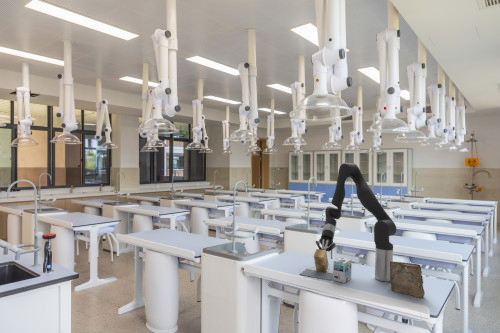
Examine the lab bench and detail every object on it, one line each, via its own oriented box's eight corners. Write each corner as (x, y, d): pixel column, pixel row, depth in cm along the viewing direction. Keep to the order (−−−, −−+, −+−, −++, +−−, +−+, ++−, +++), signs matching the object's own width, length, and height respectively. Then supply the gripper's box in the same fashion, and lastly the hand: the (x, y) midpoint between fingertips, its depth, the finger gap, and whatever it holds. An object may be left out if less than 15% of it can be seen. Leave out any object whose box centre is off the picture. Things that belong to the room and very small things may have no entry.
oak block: (328, 264, 198) (326, 250, 193) (326, 272, 194) (323, 257, 188) (318, 263, 201) (316, 248, 196) (316, 270, 197) (313, 256, 191)
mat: (336, 274, 191) (336, 273, 191) (330, 280, 179) (330, 280, 179) (306, 269, 199) (306, 268, 199) (299, 274, 187) (299, 274, 187)
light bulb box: (344, 283, 175) (345, 263, 176) (332, 280, 179) (333, 260, 180) (351, 278, 184) (352, 259, 184) (340, 276, 188) (340, 257, 188)
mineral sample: (425, 297, 159) (425, 265, 159) (422, 299, 156) (423, 267, 156) (389, 288, 170) (390, 258, 171) (386, 290, 167) (387, 260, 168)
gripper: (317, 227, 209) (310, 250, 198) (338, 230, 203) (332, 254, 192) (319, 235, 214) (313, 257, 202) (339, 237, 207) (334, 261, 196)
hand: (322, 256), depth 197 cm, fingers closed
